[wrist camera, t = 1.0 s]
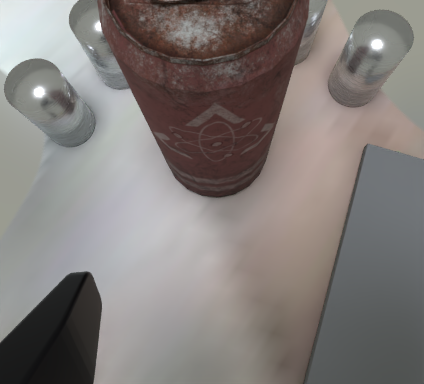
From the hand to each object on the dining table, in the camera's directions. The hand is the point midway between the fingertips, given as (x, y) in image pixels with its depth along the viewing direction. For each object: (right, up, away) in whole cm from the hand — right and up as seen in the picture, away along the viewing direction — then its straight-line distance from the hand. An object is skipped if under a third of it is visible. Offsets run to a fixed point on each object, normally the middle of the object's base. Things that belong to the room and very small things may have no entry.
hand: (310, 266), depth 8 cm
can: (-2, +4, +16) cm, 17 cm away
